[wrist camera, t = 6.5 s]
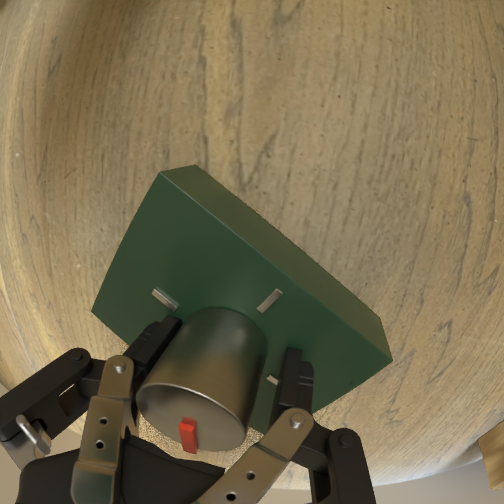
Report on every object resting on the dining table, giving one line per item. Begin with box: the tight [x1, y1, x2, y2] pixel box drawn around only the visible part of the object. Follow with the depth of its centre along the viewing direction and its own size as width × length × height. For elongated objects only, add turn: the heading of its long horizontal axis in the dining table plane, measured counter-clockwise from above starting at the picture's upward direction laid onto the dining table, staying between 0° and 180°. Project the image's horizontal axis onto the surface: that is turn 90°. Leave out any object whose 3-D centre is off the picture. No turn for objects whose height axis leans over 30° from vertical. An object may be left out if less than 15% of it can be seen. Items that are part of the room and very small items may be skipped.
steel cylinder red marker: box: [136, 308, 268, 454], centre depth 11 cm, size 4×4×5 cm
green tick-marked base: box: [91, 165, 393, 435], centre depth 15 cm, size 14×10×4 cm
